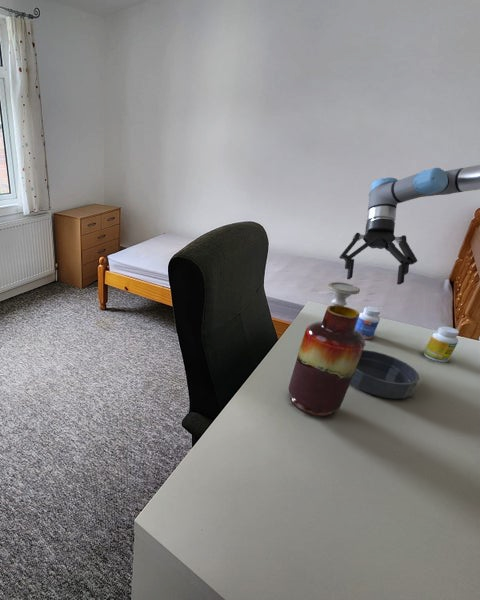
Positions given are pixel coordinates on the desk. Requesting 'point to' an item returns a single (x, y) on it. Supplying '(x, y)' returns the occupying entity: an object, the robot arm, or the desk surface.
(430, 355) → the supplement bottle
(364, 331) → the pill bottle
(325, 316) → the vase
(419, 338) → the desk surface
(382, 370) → the pan
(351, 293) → the candle holder
